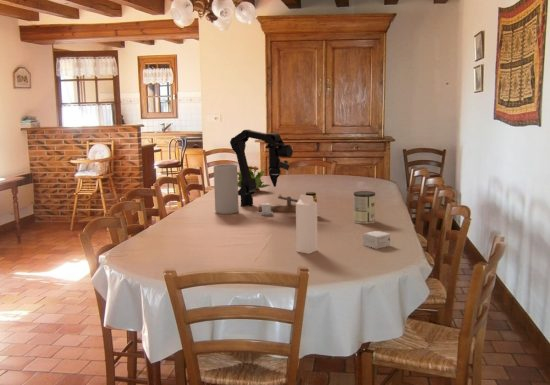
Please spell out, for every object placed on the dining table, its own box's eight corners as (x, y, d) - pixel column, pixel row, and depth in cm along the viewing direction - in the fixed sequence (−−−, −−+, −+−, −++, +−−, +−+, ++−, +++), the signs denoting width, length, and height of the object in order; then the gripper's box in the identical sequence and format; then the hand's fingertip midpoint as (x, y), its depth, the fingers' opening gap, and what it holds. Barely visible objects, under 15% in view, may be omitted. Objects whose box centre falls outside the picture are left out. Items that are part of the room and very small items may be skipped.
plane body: (258, 212, 286) (258, 199, 284) (258, 209, 291) (258, 197, 290) (296, 211, 286) (295, 198, 285) (295, 209, 292) (295, 196, 291)
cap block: (262, 214, 277) (261, 204, 277) (262, 212, 282) (261, 203, 281) (270, 214, 277) (270, 204, 277) (270, 212, 282) (270, 203, 281)
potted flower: (278, 190, 358) (277, 164, 355) (258, 195, 338) (257, 168, 335) (247, 187, 371) (247, 162, 368) (226, 192, 351) (226, 166, 348)
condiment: (320, 216, 273) (320, 192, 271) (307, 218, 268) (306, 194, 266) (311, 213, 279) (311, 191, 277) (298, 215, 274) (298, 192, 272)
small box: (376, 249, 209) (377, 236, 208) (362, 245, 215) (362, 233, 214) (390, 246, 213) (390, 233, 213) (376, 242, 220) (376, 230, 219)
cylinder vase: (242, 210, 290) (241, 164, 286) (231, 215, 279) (229, 167, 275) (222, 209, 295) (221, 164, 291) (210, 213, 284) (209, 166, 280)
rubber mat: (259, 215, 276) (259, 214, 276) (259, 212, 283) (259, 212, 283) (273, 215, 276) (273, 214, 276) (272, 212, 283) (272, 211, 283)
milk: (304, 248, 212) (304, 193, 209) (317, 250, 209) (317, 194, 205) (296, 251, 207) (295, 195, 204) (309, 254, 204) (308, 197, 200)
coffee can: (355, 218, 265) (355, 190, 262) (376, 219, 261) (376, 191, 259) (351, 223, 255) (351, 194, 253) (373, 224, 252) (373, 194, 249)
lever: (278, 198, 286) (278, 194, 286) (277, 197, 289) (278, 193, 288) (299, 202, 287) (300, 198, 287) (299, 201, 290) (300, 197, 289)
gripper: (289, 158, 280) (290, 187, 282) (288, 154, 298) (288, 182, 301) (268, 158, 280) (269, 188, 282) (268, 155, 298) (268, 183, 301)
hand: (274, 185), depth 291 cm, fingers open, 9 cm apart
